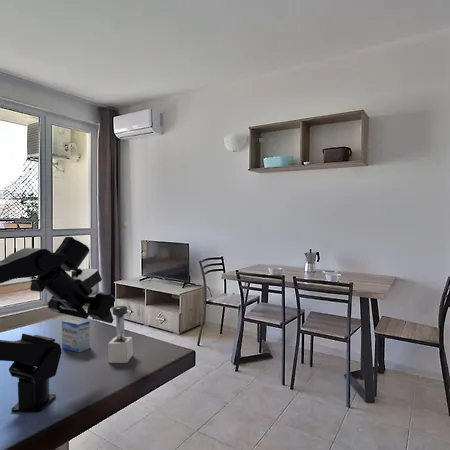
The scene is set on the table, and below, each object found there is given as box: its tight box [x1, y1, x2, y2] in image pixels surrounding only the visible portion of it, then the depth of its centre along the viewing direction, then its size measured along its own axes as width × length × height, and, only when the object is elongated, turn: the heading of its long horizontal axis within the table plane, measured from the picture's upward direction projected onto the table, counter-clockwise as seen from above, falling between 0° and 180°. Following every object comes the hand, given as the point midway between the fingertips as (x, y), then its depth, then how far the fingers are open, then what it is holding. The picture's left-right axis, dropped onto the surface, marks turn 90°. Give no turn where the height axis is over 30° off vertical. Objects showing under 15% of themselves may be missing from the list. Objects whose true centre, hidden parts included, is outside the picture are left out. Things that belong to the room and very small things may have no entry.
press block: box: [107, 336, 133, 364], centre depth 100 cm, size 5×5×6 cm
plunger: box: [112, 305, 128, 342], centre depth 99 cm, size 4×4×10 cm
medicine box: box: [61, 317, 91, 353], centre depth 108 cm, size 8×4×9 cm, turn 62°
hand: (99, 319), depth 92 cm, fingers open, 9 cm apart
